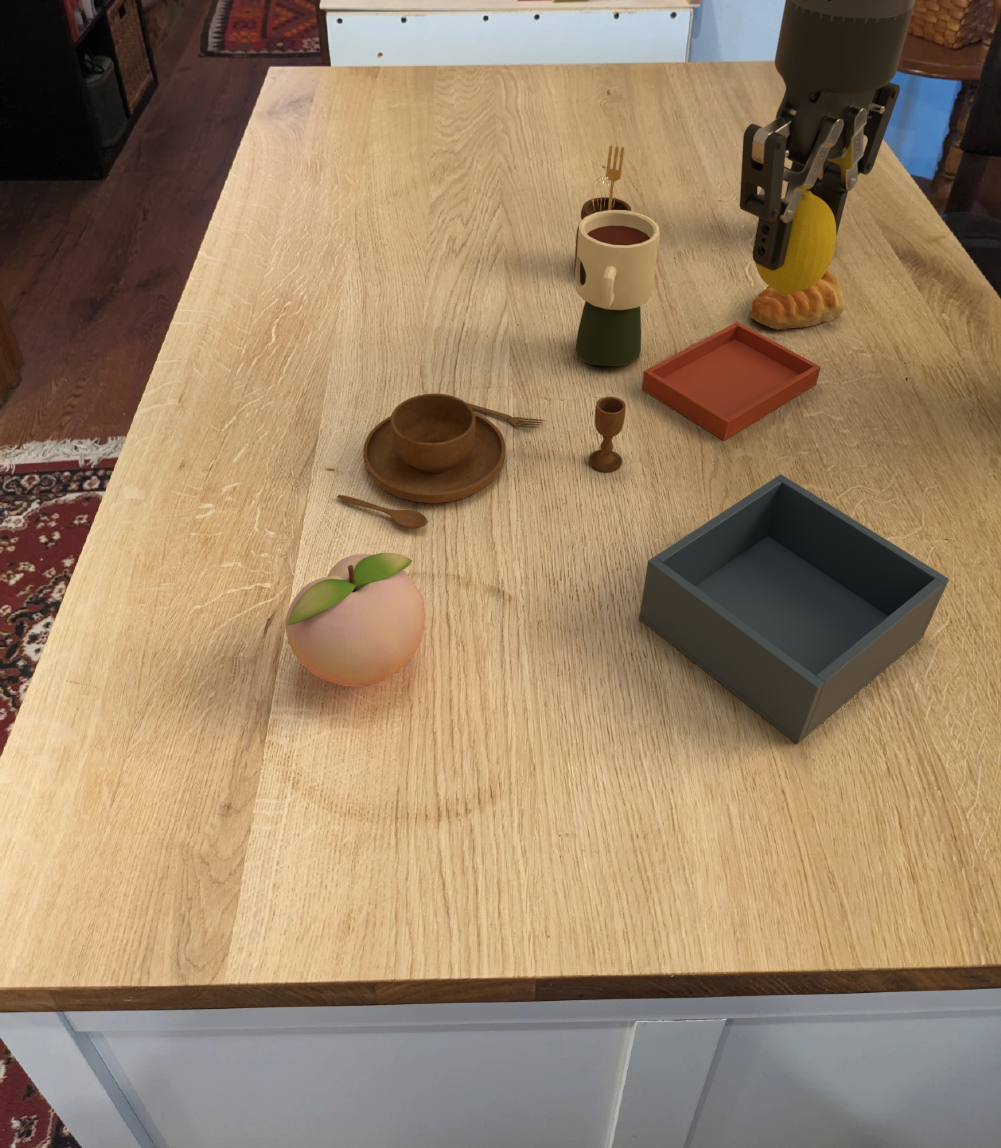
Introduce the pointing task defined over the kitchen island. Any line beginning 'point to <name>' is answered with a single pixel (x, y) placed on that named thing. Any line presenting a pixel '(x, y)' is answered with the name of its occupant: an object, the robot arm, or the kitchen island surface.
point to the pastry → (800, 305)
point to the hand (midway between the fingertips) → (794, 250)
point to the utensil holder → (605, 202)
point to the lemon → (805, 247)
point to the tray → (730, 379)
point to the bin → (789, 603)
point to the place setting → (455, 450)
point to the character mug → (614, 284)
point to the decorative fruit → (358, 620)
